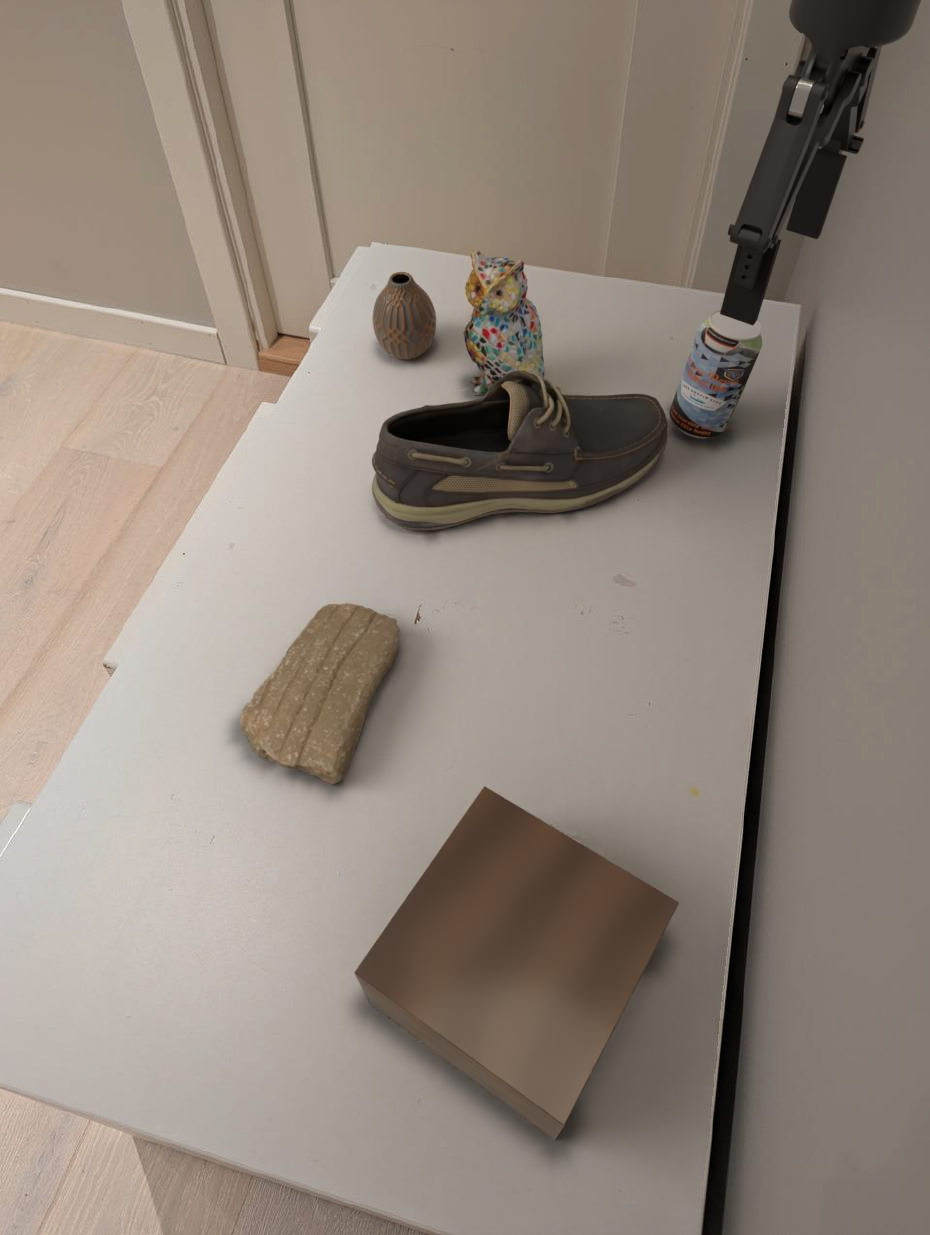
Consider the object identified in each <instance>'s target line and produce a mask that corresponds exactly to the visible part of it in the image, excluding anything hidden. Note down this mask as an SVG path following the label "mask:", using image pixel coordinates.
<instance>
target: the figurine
mask: <svg viewBox="0 0 930 1235" xmlns="http://www.w3.org/2000/svg"><path fill="white" fill-rule="evenodd" d="M470 259H471V267H472V268H473V269H472V270H471V271H470V273H469V275H468V278H467V282H465V287H464V290H465V295H466V298H467V302H468V303H469V304H470V305H471V306H472V313H471V316H470V321H468V324H467V325H466V326H465V327H464V331H463V339H464V344H465V347H466V348H465V349H466V352H467V354H468V356H469V358H470V360H471V361H472V363H475V364H476V366H477V368H478V369H479V370H480V371H481V373H482V375H480V376H472V377H471V378H470V380H469V383H471V384H472V385H473V386H474V387H473V389H472V394H473V395H474V396H481V395H484V394H486V393H487V392H488V388H489V387H491V386H492V385H493V384H494V383H495V382H496V381H498V380H499V379H500V378H501V377H503V376H504V375H506V374H508V373H510V372H512V371H526V372H534V373H537V374H538V375H540V376H541V378H542V379H545V365H544V364H545V358H544V347H543V346H544V345H543V332H542V323H541V320H540V316H539V312H538V309H537V306H536V305H535V304H534V303H533V301H531V300H530V299H529V298H528V297H527V294H528V291H529V290H528V288H529V287H528V278H527V275H526V274H525V270H524V268H525V262H524V260H523V258H520V259H519V260H518V262H516V261H514V260H511V259H509V258H508V257H501V256H496V257H495V256H494V257H487V256H486V255H485V254H484V253H481V251H480V250H479V249H476V250H473V251H472V252H471V253H470Z"/></svg>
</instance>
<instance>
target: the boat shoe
mask: <svg viewBox="0 0 930 1235" xmlns="http://www.w3.org/2000/svg"><path fill="white" fill-rule="evenodd" d="M668 439H669V422H668V418H667V415H666V413H665V410H664V409H663V407H662V405H661V403H660V401H659V400H658V399H657V398H656V397H655V396H652V395H649V394H645V393H619V394H608V395H607V394H605V395H603V394H601V395H593V394H592V395H591V394H590V395H586V394H585V395H583V394H563V393H562V388H561V387H560V386H558V385H555V384H554V383H553V382H552V381H551V380H549V379H548V378H544V379H542V378H541V376H540V375H538V374H537V373H534V372H526V371H512V372H510V373H508V374H506V375H504V376H503V377H501V378H500V379H499V380H498V381H496V382H495V383H494V384H493V385H492V386H491V387H489V388H488V392H487V393H485V395H484V396H483V397H480V398H477V399H473V400H467V401H461V402H449V403H443V404H434V405H433V404H430V405H429V404H428V405H427V404H426V405H423V406H420V407H415V408H412V409H407V410H404V411H401V412H398V413H395V414H394V415H391V416H389V417H388V418H386V419H385V420H384V421H383V423H382V425H381V428H380V431H379V434H378V441H377V444H376V450H375V451H374V452H373V454H372V456H371V457H372V458H371V465H372V468H373V470H374V472H375V473H374V476H373V479H372V484H371V492H372V497H373V500H374V502H375V504H376V505H377V507H378V509H379V511H380V512H381V513H382V514H383V515H384V516H385V517H386V518H387V519H388V520H389V522H391V523H393V524H394V525H396V526H397V527H399V528H403V529H406V530H411V531H412V530H413V531H434V530H441V529H447V528H452V527H455V526H459V525H462V524H465V523H468V522H471V521H474V520H476V519H479V518H483V517H486V516H490V515H494V514H495V515H496V514H503V513H505V514H506V513H537V514H555V513H557V514H558V513H562V512H563V513H564V512H570V511H575V510H579V509H580V510H581V509H583V508H587V507H591V506H593V505H596V504H598V503H601V502H603V501H605V500H608V499H609V498H610V497H612V496H614V495H617V494H620V493H621V492H623V491H624V490H627V488H629V487H631V486H632V485H634V484H635V483H637V482H638V481H639V480H641V479H642V478H643V477H644V476H645V475H646V474H648V472H649V471H651V470H652V468H653V467H654V466H655V465H656V463H657V461H658V460H659V459H660V457H661V456H662V454H663V453H664V451H665V448H666V446H667V443H668Z"/></svg>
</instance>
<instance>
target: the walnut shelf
mask: <svg viewBox="0 0 930 1235" xmlns="http://www.w3.org/2000/svg"><path fill="white" fill-rule="evenodd" d="M679 904H680V903H679V901H677V900H676V899H674V898H672V897H671V896H669V895H667V894H665V892H662V891H660V890H659V889H657V888H656V887H654V886H652V885H650V884H649V883H647V882H646V881H644V880H643V879H641V878H639V877H637V876H636V875H634V874H633V873H630V872H629V871H627V870H625V869H624V868H622V867H621V866H619V865H617V864H615V862H612V861H611V860H609V859H607V858H605V857H604V856H602V855H601V854H599V853H598V852H596V851H594V850H592V849H590V848H589V847H587V846H585V845H584V844H582V843H580V842H579V841H577V840H575V839H574V838H572V837H570V836H569V835H567V834H565V833H564V832H562V831H560V830H559V829H557V828H555V826H552V825H551V824H549V823H547V822H545V821H543V820H542V819H540V818H539V817H537V816H535V815H534V814H532V813H530V812H529V811H527V810H525V809H524V808H522V807H520V806H519V805H517V804H516V803H514V802H512V801H510V800H508V798H505V797H504V796H502V795H501V794H498V793H496V792H495V791H493V790H492V789H491V788H488V787H487V786H484V785H483V787H482V788H481V790H480V792H479V793H478V795H477V796H476V797H475V799H474V800H473V802H472V803H471V805H469V807H468V809H467V810H466V812H464V815H463V816H462V817H461V819H460V820H459V822H458V823H457V824H456V826H455V827H454V829H453V830H452V832H451V833H450V834H449V836H448V837H447V839H446V840H445V841H444V843H443V845H442V846H441V848H440V849H439V850H438V851H437V853H436V855H435V856H434V857H433V859H432V860H431V862H430V863H429V864H428V866H427V868H426V869H425V871H423V873H422V875H421V876H420V877H419V879H418V880H417V882H416V884H415V885H414V886H413V888H412V889H411V890H410V892H409V893H408V895H407V896H406V897H405V899H404V900H403V901H402V903H401V905H400V906H399V907H398V909H397V910H396V912H395V913H394V915H393V916H392V918H391V919H390V921H389V922H388V923H387V925H386V926H385V927H384V929H383V930H382V932H381V933H380V935H379V937H378V938H377V939H376V941H375V943H373V945H372V946H371V947H370V949H369V950H368V952H367V953H366V955H365V956H364V958H363V959H362V960H361V962H360V964H359V965H358V966H357V968H356V969H355V970H354V975H355V978H356V979H357V982H358V983H359V984H360V985H359V986H360V987H361V989H362V991H363V993H364V995H365V997H366V999H367V1001H368V1004H369V1005H371V1006H372V1007H373V1008H375V1009H376V1010H377V1011H379V1012H380V1013H382V1014H383V1015H384V1016H385V1017H387V1018H388V1019H390V1020H391V1021H392V1022H393V1023H394V1024H396V1025H397V1026H399V1027H400V1028H402V1030H404V1031H405V1032H407V1033H408V1034H409V1035H411V1036H412V1037H414V1038H415V1039H416V1040H418V1041H419V1042H420V1043H421V1044H423V1045H424V1046H426V1047H427V1048H429V1049H430V1050H431V1051H433V1052H434V1053H435V1054H437V1055H438V1056H439V1057H440V1058H442V1059H444V1060H445V1061H446V1062H448V1063H449V1064H450V1065H451V1066H453V1067H455V1068H456V1069H457V1070H459V1071H460V1072H461V1073H462V1074H464V1075H465V1076H467V1077H468V1078H469V1079H470V1080H472V1081H473V1082H475V1083H476V1084H478V1085H479V1086H480V1087H482V1088H483V1089H484V1090H486V1091H487V1092H488V1093H490V1095H492V1096H494V1097H495V1098H496V1099H498V1100H499V1101H500V1102H502V1103H503V1104H504V1105H506V1106H507V1107H509V1108H510V1109H511V1110H513V1111H514V1112H515V1113H517V1114H518V1115H519V1116H521V1117H522V1118H523V1119H525V1120H526V1121H527V1122H528V1123H530V1124H532V1125H533V1126H534V1127H535V1128H537V1129H538V1130H539V1131H541V1132H543V1134H544V1135H547V1136H548V1137H549V1138H550V1139H552V1140H554V1141H556V1139H557V1137H558V1136H559V1135H560V1133H561V1131H562V1130H563V1129H564V1127H565V1126H566V1124H567V1122H568V1120H569V1118H570V1116H571V1114H572V1112H573V1110H574V1108H575V1106H576V1105H577V1103H578V1101H579V1098H580V1097H581V1094H582V1093H583V1090H584V1089H585V1087H586V1085H587V1083H588V1081H589V1080H590V1077H591V1075H592V1073H593V1071H594V1069H595V1067H596V1065H597V1064H598V1062H599V1060H600V1058H601V1056H602V1054H603V1052H604V1050H605V1048H606V1046H607V1045H608V1042H609V1040H610V1039H611V1036H612V1034H613V1032H614V1031H615V1028H616V1027H617V1025H618V1023H619V1022H620V1021H619V1020H620V1019H621V1017H622V1015H623V1013H624V1012H625V1009H626V1007H627V1005H628V1003H629V1001H630V1000H631V998H632V995H633V993H634V992H635V989H636V987H637V986H638V983H639V982H640V980H641V978H642V975H643V974H644V972H645V970H646V969H647V967H648V965H649V963H650V961H651V958H652V956H653V955H654V952H655V951H656V949H657V947H658V945H659V943H660V941H661V939H662V937H663V935H664V934H665V931H666V929H667V928H668V926H669V923H670V921H671V920H672V918H673V915H674V914H675V912H676V910H677V908H678V906H679Z"/></svg>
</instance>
